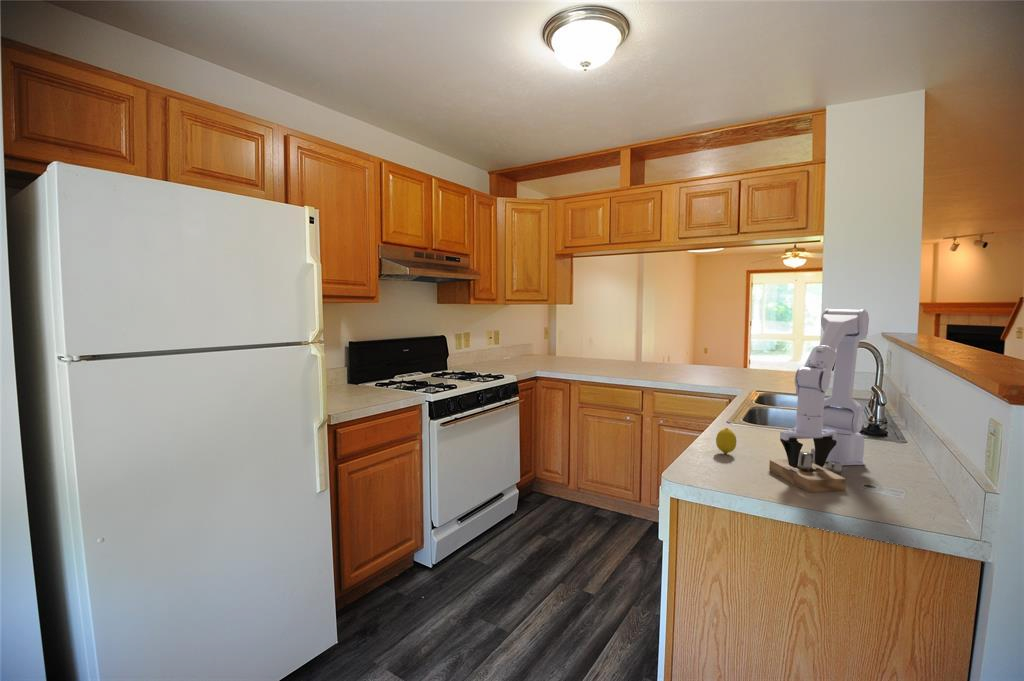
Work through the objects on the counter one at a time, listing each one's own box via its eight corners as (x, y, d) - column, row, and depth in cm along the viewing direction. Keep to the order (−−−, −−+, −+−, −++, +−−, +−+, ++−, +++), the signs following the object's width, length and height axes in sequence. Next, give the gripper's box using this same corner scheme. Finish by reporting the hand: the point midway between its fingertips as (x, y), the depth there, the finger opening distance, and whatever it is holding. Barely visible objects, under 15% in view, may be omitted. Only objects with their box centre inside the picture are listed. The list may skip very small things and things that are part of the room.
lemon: (737, 457, 136) (739, 431, 135) (717, 456, 137) (719, 430, 136) (732, 451, 141) (734, 426, 140) (713, 450, 142) (714, 425, 141)
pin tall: (805, 477, 121) (807, 451, 120) (813, 481, 118) (815, 455, 118) (794, 477, 121) (796, 451, 120) (802, 481, 118) (804, 455, 117)
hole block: (802, 469, 127) (803, 458, 126) (845, 490, 113) (846, 478, 113) (769, 470, 126) (769, 460, 125) (808, 492, 112) (809, 480, 111)
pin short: (834, 473, 124) (835, 460, 124) (843, 477, 121) (844, 464, 121) (824, 473, 124) (825, 461, 123) (833, 478, 121) (834, 465, 120)
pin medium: (817, 465, 130) (818, 448, 130) (825, 469, 127) (826, 451, 127) (807, 465, 130) (808, 448, 129) (815, 469, 127) (816, 451, 126)
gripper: (822, 409, 123) (819, 459, 124) (773, 411, 121) (769, 461, 122) (845, 416, 116) (841, 468, 117) (793, 418, 114) (789, 471, 115)
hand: (806, 465), depth 119 cm, fingers open, 7 cm apart
